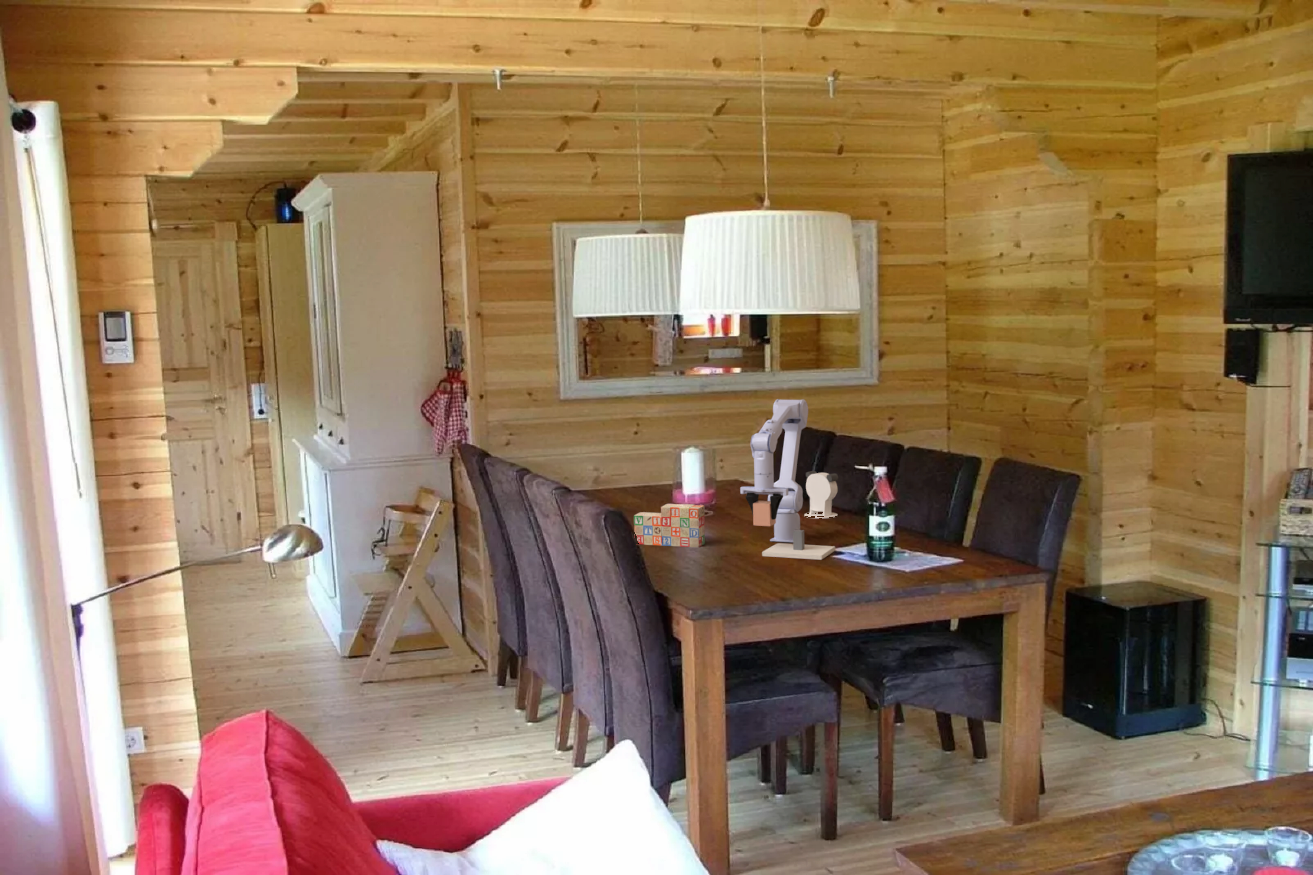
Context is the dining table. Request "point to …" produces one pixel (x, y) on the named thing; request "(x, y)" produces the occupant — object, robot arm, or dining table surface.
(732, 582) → the dining table surface
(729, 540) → the dining table surface
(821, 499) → the beige rounded figure
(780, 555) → the post board
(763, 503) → the salmon orange block
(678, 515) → the stack of blocks
